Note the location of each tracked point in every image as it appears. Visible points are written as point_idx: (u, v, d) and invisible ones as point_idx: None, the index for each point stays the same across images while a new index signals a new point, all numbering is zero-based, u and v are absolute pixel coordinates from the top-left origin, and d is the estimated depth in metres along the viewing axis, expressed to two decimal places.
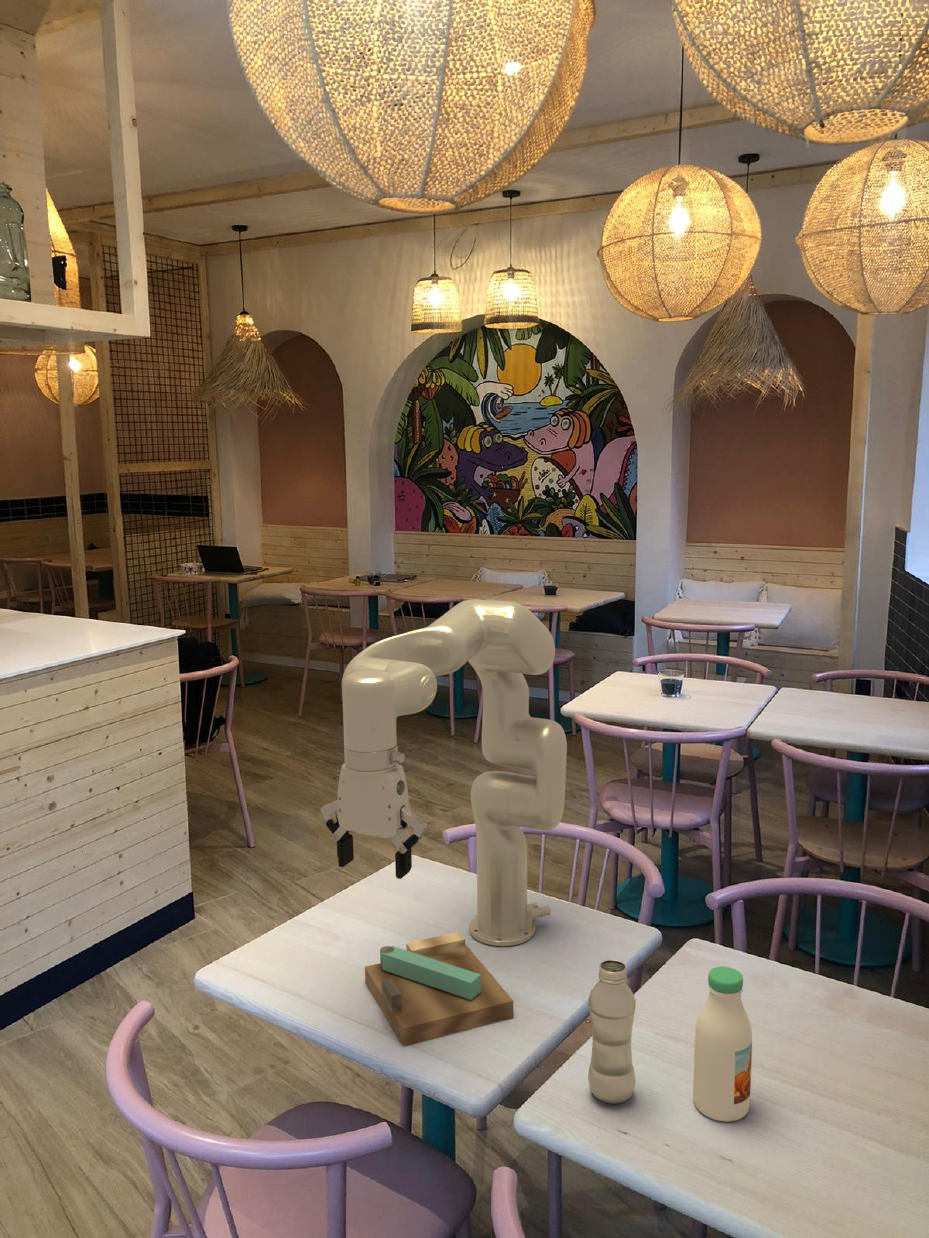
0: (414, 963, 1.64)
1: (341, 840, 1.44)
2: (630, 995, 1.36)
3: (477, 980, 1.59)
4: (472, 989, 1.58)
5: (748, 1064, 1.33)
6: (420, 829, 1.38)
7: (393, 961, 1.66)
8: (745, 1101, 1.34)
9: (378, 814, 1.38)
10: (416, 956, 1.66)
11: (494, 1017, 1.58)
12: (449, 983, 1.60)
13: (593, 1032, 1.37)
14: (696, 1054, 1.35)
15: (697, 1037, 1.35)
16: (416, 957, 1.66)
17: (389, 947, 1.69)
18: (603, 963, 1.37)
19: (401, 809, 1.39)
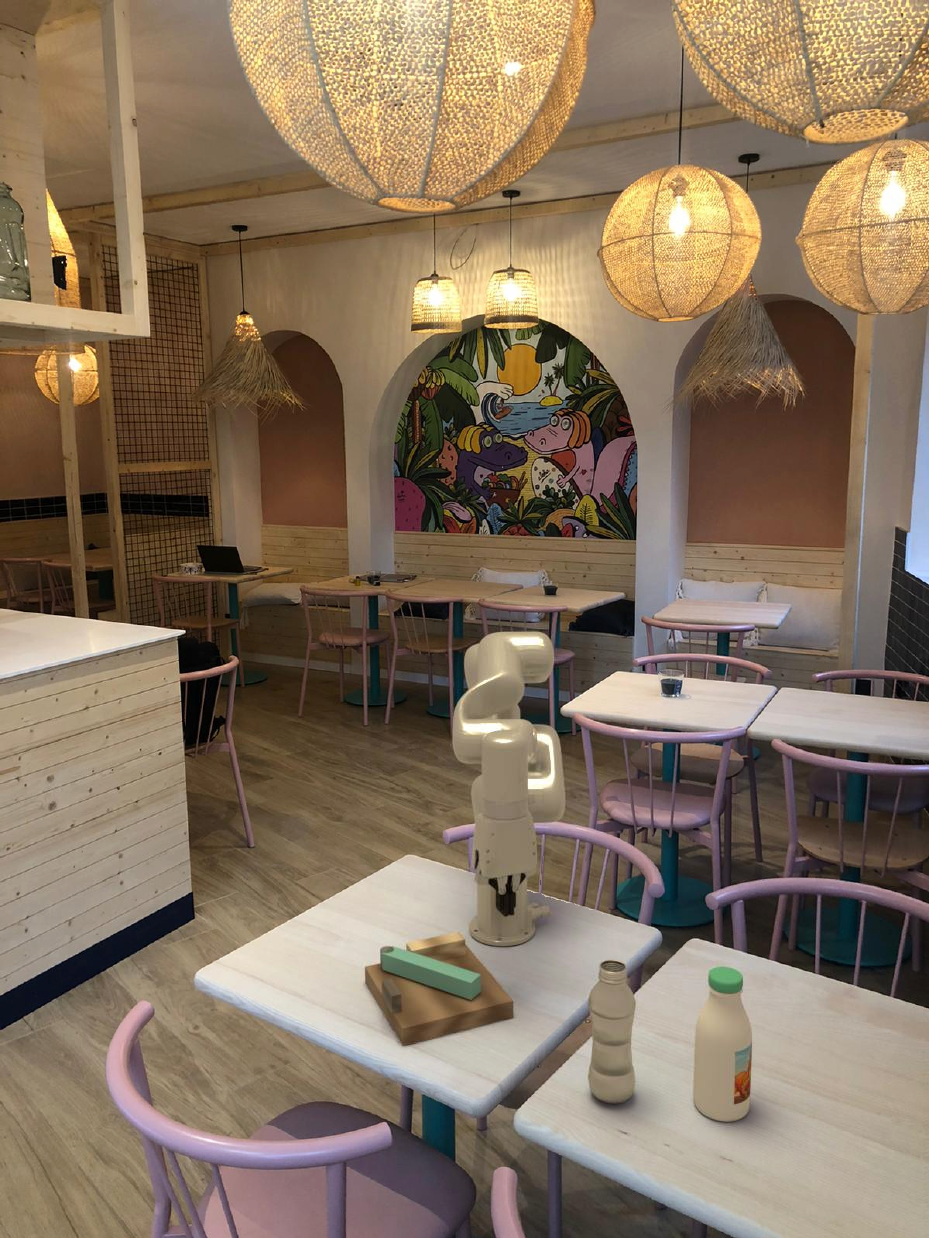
0: (414, 963, 1.64)
1: (505, 892, 1.60)
2: (630, 995, 1.36)
3: (477, 980, 1.59)
4: (472, 989, 1.58)
5: (748, 1064, 1.33)
6: (532, 873, 1.62)
7: (393, 961, 1.66)
8: (745, 1101, 1.34)
9: (524, 852, 1.59)
10: (416, 956, 1.66)
11: (494, 1017, 1.58)
12: (449, 983, 1.60)
13: (593, 1032, 1.37)
14: (696, 1054, 1.35)
15: (697, 1037, 1.35)
16: (416, 957, 1.66)
17: (389, 947, 1.69)
18: (603, 963, 1.37)
19: None
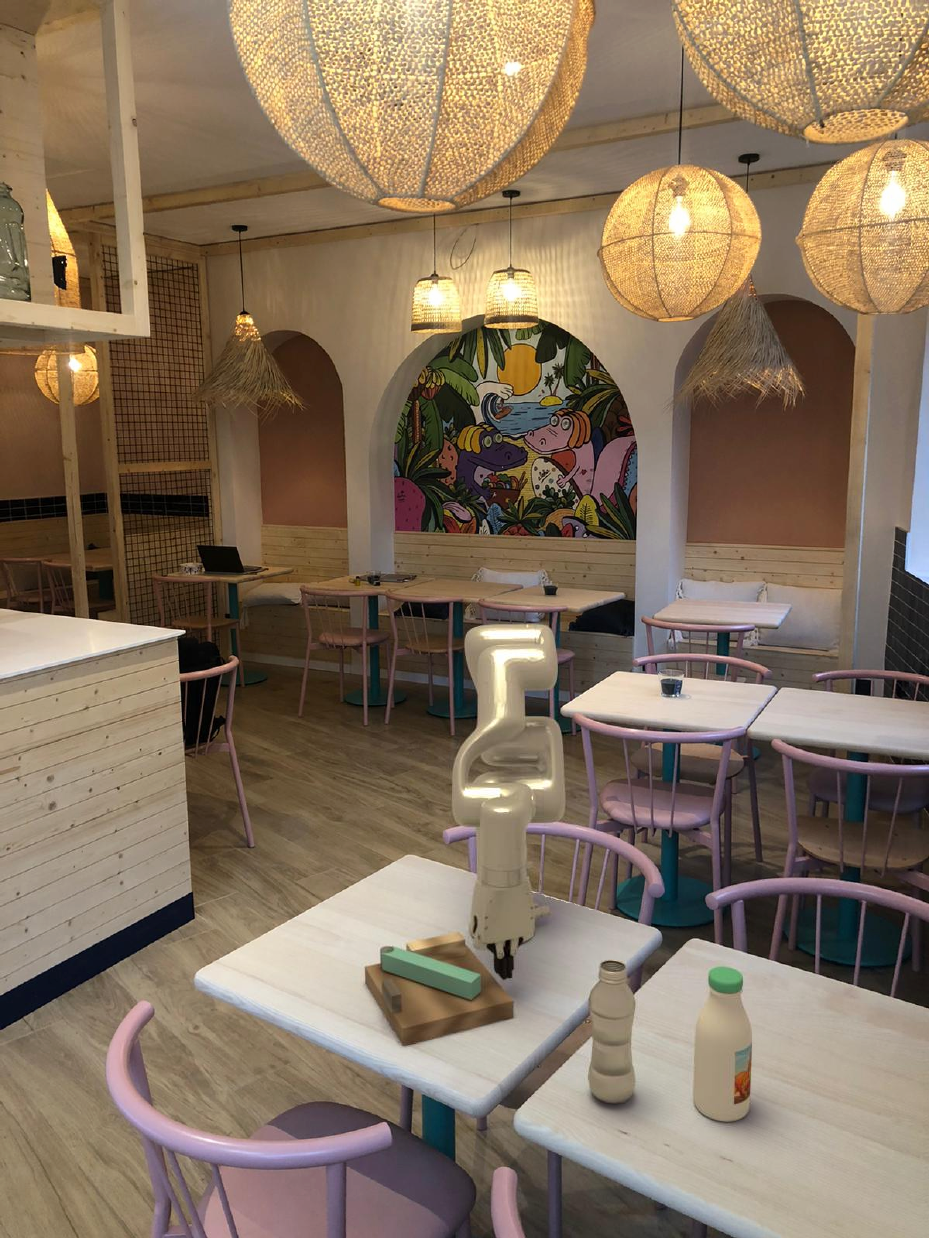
0: (414, 963, 1.64)
1: (503, 956, 1.62)
2: (630, 995, 1.36)
3: (477, 980, 1.59)
4: (472, 989, 1.58)
5: (748, 1064, 1.33)
6: (530, 936, 1.64)
7: (393, 961, 1.66)
8: (745, 1101, 1.34)
9: (522, 918, 1.61)
10: (416, 956, 1.66)
11: (494, 1017, 1.58)
12: (449, 983, 1.60)
13: (593, 1032, 1.37)
14: (696, 1054, 1.35)
15: (697, 1037, 1.35)
16: (416, 957, 1.66)
17: (389, 947, 1.69)
18: (603, 963, 1.37)
19: None
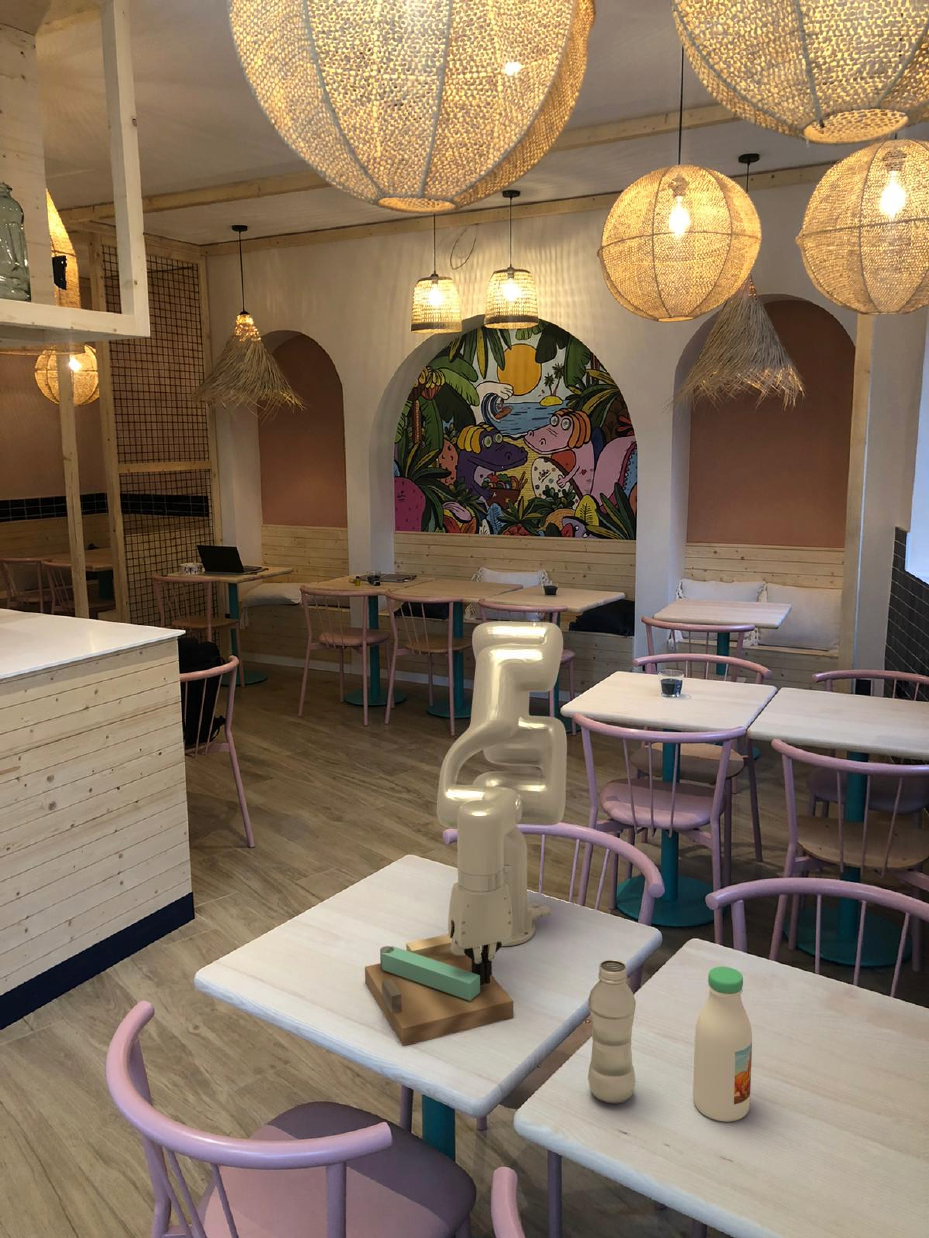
0: (414, 964, 1.64)
1: (481, 961, 1.61)
2: (630, 995, 1.36)
3: (476, 981, 1.59)
4: (471, 990, 1.58)
5: (748, 1064, 1.33)
6: (508, 940, 1.63)
7: (393, 961, 1.66)
8: (745, 1101, 1.34)
9: (500, 922, 1.59)
10: (416, 956, 1.66)
11: (494, 1017, 1.58)
12: (448, 983, 1.60)
13: (593, 1032, 1.37)
14: (696, 1054, 1.35)
15: (697, 1037, 1.35)
16: (416, 957, 1.66)
17: (389, 947, 1.69)
18: (603, 963, 1.37)
19: None
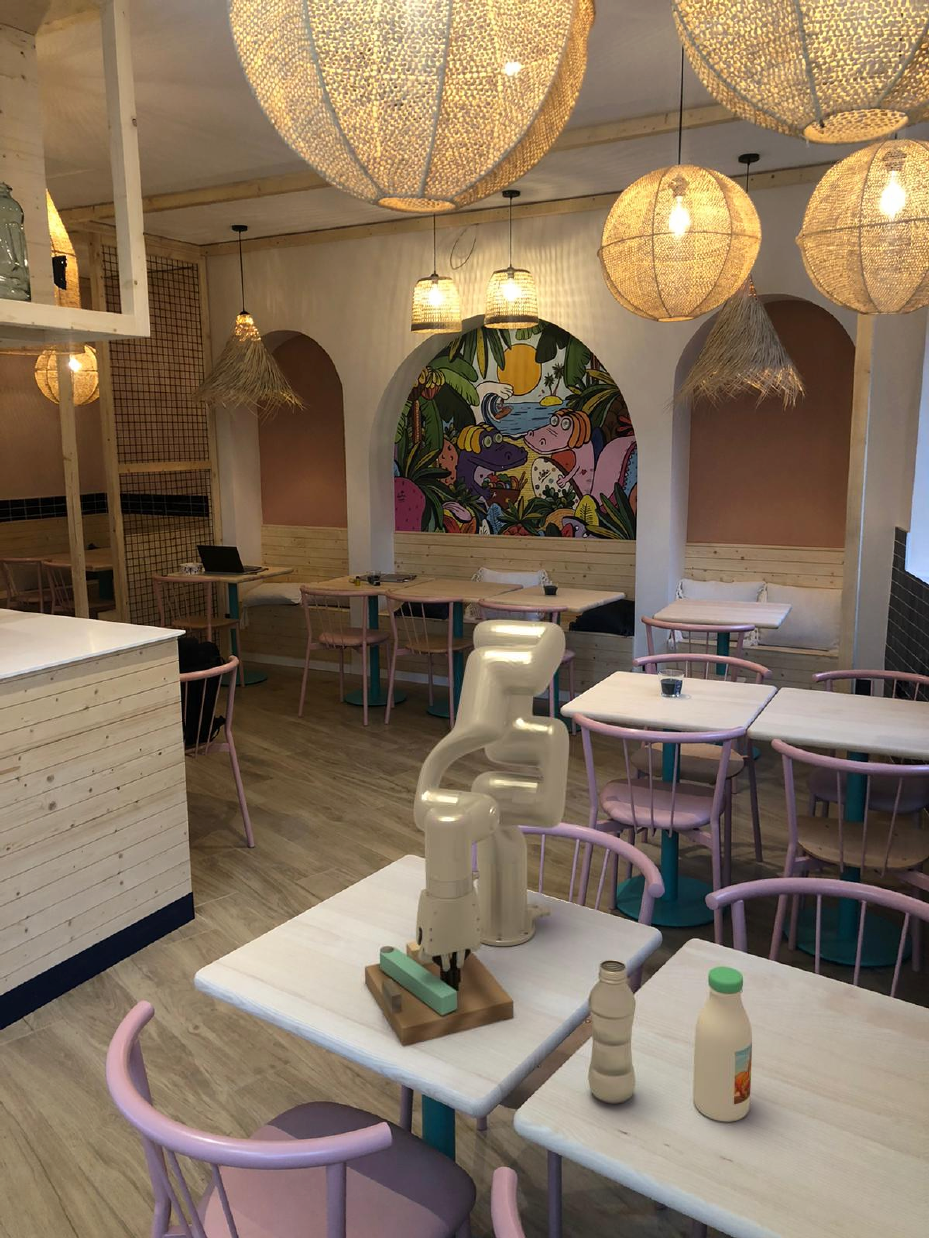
0: (402, 968, 1.62)
1: (449, 968, 1.58)
2: (630, 995, 1.36)
3: (451, 997, 1.55)
4: (443, 1005, 1.54)
5: (748, 1064, 1.33)
6: (477, 947, 1.60)
7: (387, 962, 1.66)
8: (745, 1101, 1.34)
9: (468, 929, 1.57)
10: (409, 961, 1.64)
11: (494, 1017, 1.58)
12: (426, 994, 1.57)
13: (593, 1032, 1.37)
14: (696, 1054, 1.35)
15: (697, 1037, 1.35)
16: (408, 962, 1.64)
17: (390, 947, 1.69)
18: (603, 963, 1.37)
19: None
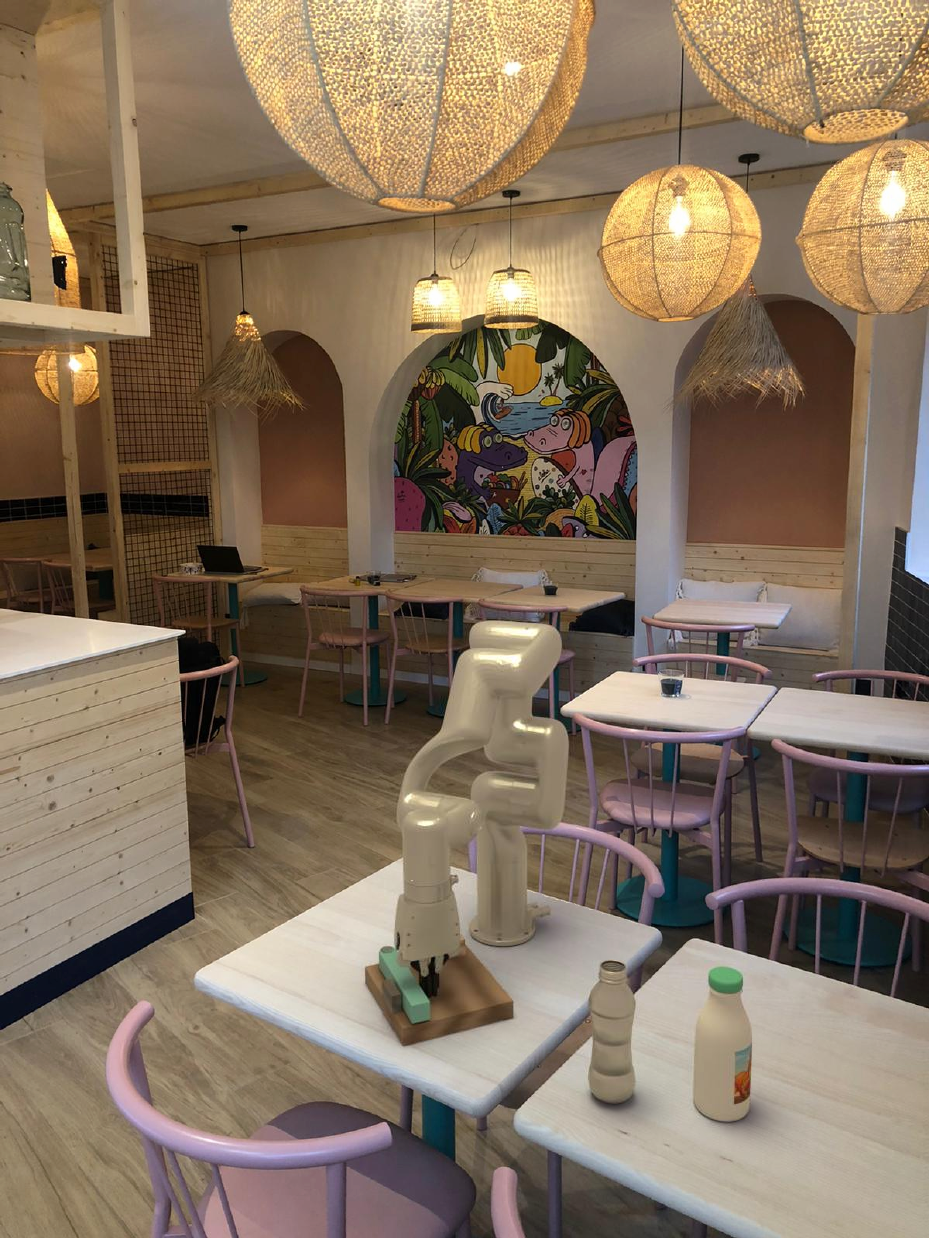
0: (391, 970, 1.62)
1: (428, 974, 1.57)
2: (630, 995, 1.36)
3: (423, 1007, 1.52)
4: (414, 1013, 1.52)
5: (748, 1064, 1.33)
6: (456, 952, 1.59)
7: (382, 962, 1.66)
8: (745, 1101, 1.34)
9: (447, 934, 1.56)
10: None
11: (494, 1017, 1.58)
12: (403, 1000, 1.55)
13: (593, 1032, 1.37)
14: (696, 1054, 1.35)
15: (697, 1037, 1.35)
16: None
17: (391, 948, 1.69)
18: (603, 963, 1.37)
19: None
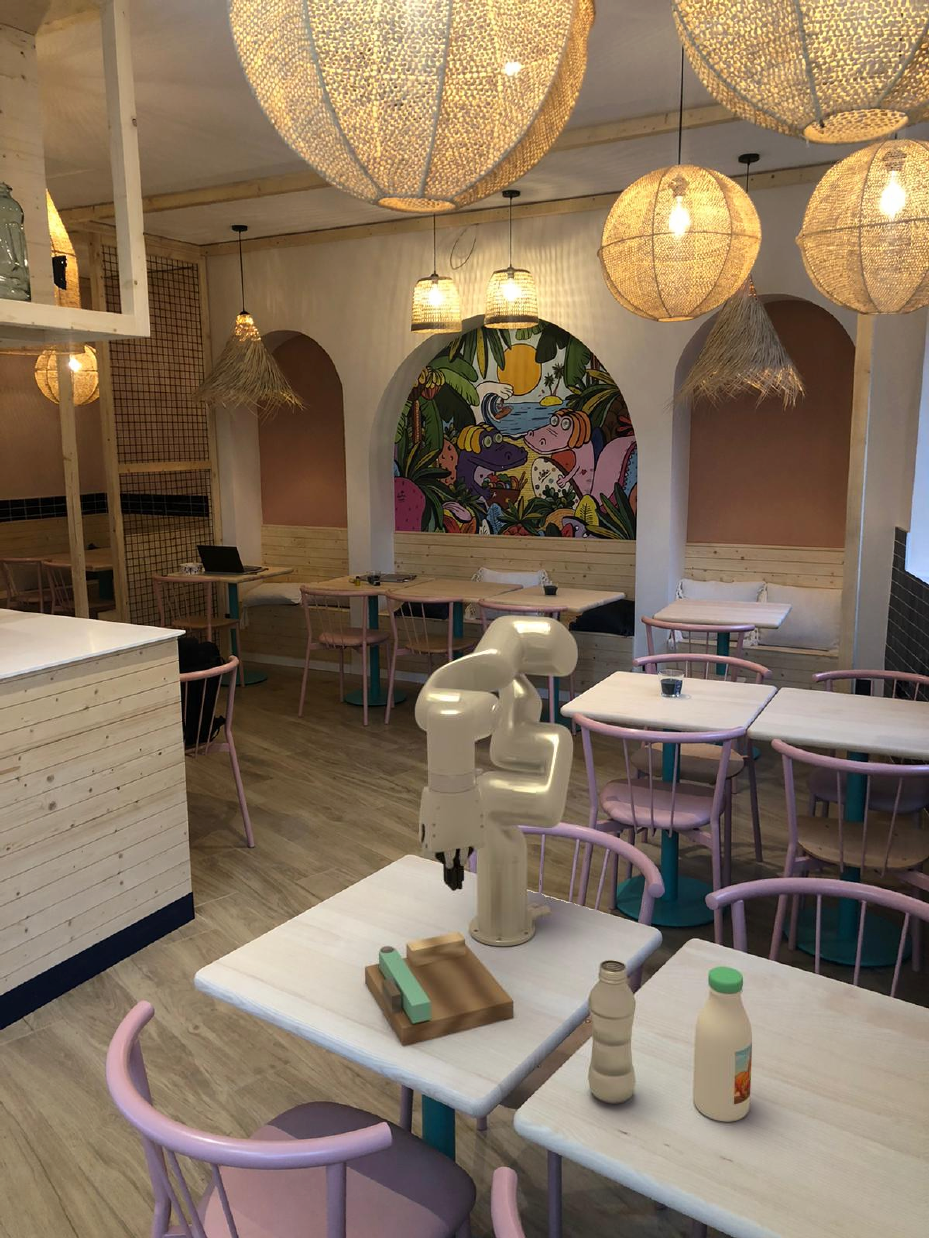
0: (391, 970, 1.62)
1: (453, 866, 1.57)
2: (630, 995, 1.36)
3: (424, 1006, 1.52)
4: (415, 1013, 1.52)
5: (748, 1064, 1.33)
6: (480, 846, 1.59)
7: (382, 962, 1.66)
8: (745, 1101, 1.34)
9: (472, 826, 1.56)
10: (401, 964, 1.63)
11: (494, 1017, 1.58)
12: (404, 1000, 1.55)
13: (593, 1032, 1.37)
14: (696, 1054, 1.35)
15: (697, 1037, 1.35)
16: (400, 965, 1.63)
17: (391, 948, 1.69)
18: (603, 963, 1.37)
19: None
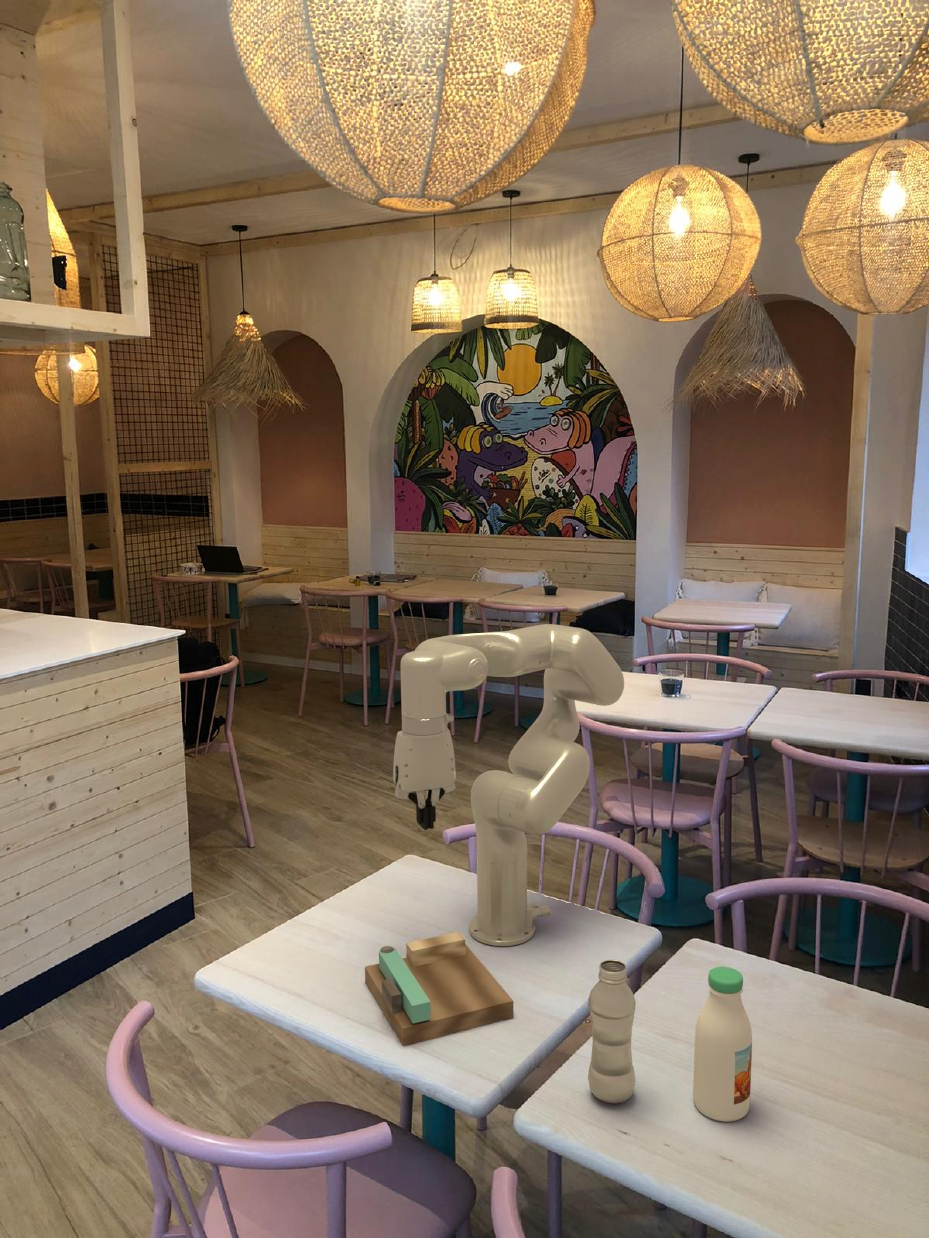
0: (391, 970, 1.62)
1: (425, 806, 1.67)
2: (630, 995, 1.36)
3: (424, 1006, 1.52)
4: (415, 1013, 1.52)
5: (748, 1064, 1.33)
6: (451, 788, 1.69)
7: (382, 962, 1.66)
8: (745, 1101, 1.34)
9: (443, 768, 1.66)
10: (401, 964, 1.63)
11: (494, 1017, 1.58)
12: (404, 1000, 1.55)
13: (593, 1032, 1.37)
14: (696, 1054, 1.35)
15: (697, 1037, 1.35)
16: (400, 965, 1.63)
17: (391, 948, 1.69)
18: (603, 963, 1.38)
19: None
